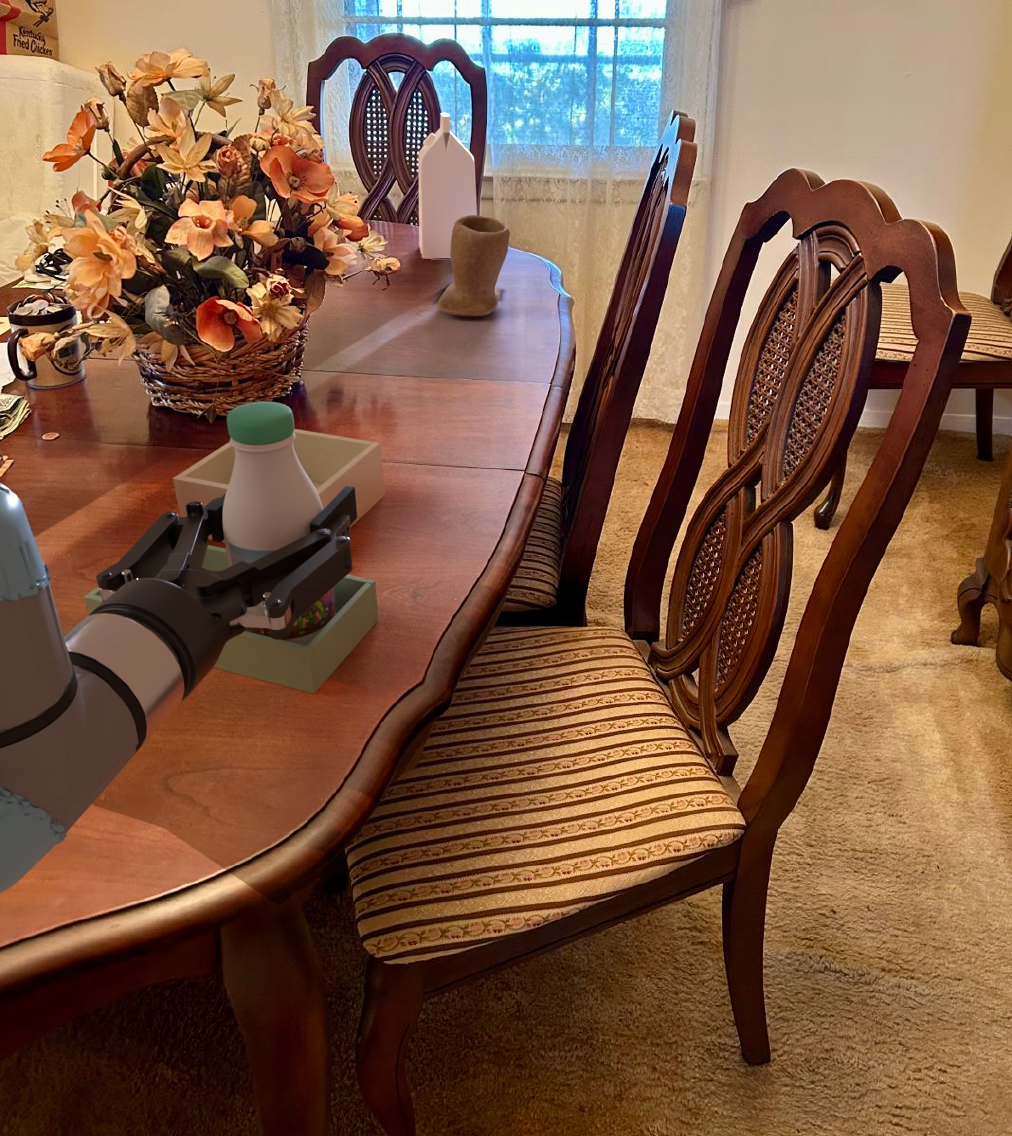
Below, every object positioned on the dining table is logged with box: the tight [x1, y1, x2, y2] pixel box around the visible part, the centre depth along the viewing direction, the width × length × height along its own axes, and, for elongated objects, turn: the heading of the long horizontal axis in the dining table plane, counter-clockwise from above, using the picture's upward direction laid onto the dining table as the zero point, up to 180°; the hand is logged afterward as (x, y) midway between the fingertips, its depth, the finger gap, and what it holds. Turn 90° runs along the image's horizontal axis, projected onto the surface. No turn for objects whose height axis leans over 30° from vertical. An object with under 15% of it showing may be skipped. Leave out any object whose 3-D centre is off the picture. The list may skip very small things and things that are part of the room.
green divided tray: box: [83, 544, 379, 695], centre depth 77 cm, size 21×11×4 cm, turn 70°
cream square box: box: [172, 428, 385, 544], centre depth 93 cm, size 15×15×6 cm
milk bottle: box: [222, 401, 336, 646], centre depth 71 cm, size 8×8×20 cm
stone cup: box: [437, 214, 511, 317], centre depth 155 cm, size 15×12×15 cm
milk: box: [417, 112, 478, 258], centre depth 188 cm, size 12×12×26 cm
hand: (303, 495), depth 74 cm, fingers closed on milk bottle, 8 cm apart
